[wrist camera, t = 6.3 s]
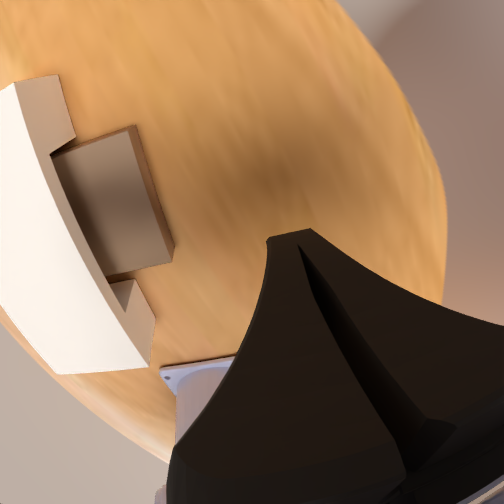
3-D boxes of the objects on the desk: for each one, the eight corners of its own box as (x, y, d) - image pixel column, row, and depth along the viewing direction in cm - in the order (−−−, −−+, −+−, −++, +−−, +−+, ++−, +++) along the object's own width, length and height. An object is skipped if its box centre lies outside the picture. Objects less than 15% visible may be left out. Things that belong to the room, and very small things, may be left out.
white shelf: (156, 318, 20) (148, 366, 17) (71, 332, 20) (57, 374, 17) (57, 74, 11) (13, 82, 8) (-32, 131, 11) (-75, 153, 8)
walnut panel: (175, 241, 18) (171, 262, 16) (52, 271, 18) (40, 290, 16) (138, 122, 14) (127, 130, 12) (6, 176, 14) (-11, 189, 12)
